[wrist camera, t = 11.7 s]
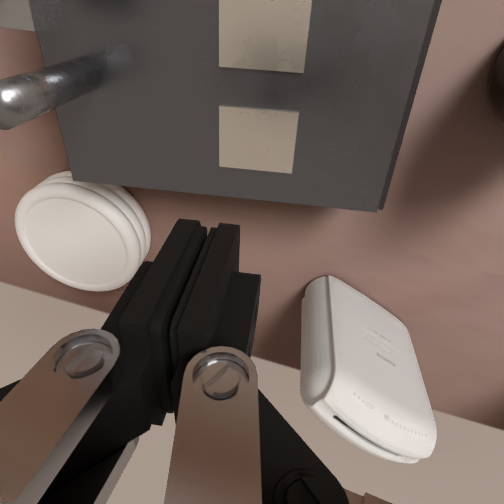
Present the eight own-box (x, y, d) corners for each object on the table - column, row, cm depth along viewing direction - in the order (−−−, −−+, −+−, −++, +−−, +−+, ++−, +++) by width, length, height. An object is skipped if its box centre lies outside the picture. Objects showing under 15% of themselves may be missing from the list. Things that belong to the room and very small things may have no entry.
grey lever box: (424, -50, 19) (551, -95, 9) (370, 171, 26) (407, 287, 16) (80, -67, 21) (-146, -123, 10) (115, 147, 28) (0, 239, 17)
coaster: (155, 184, 29) (138, 205, 26) (151, 280, 35) (137, 306, 32) (29, 154, 29) (-2, 172, 26) (46, 255, 35) (22, 279, 32)
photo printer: (414, 325, 34) (458, 468, 24) (378, 348, 36) (404, 488, 26) (327, 264, 31) (334, 395, 21) (294, 294, 33) (287, 425, 23)
